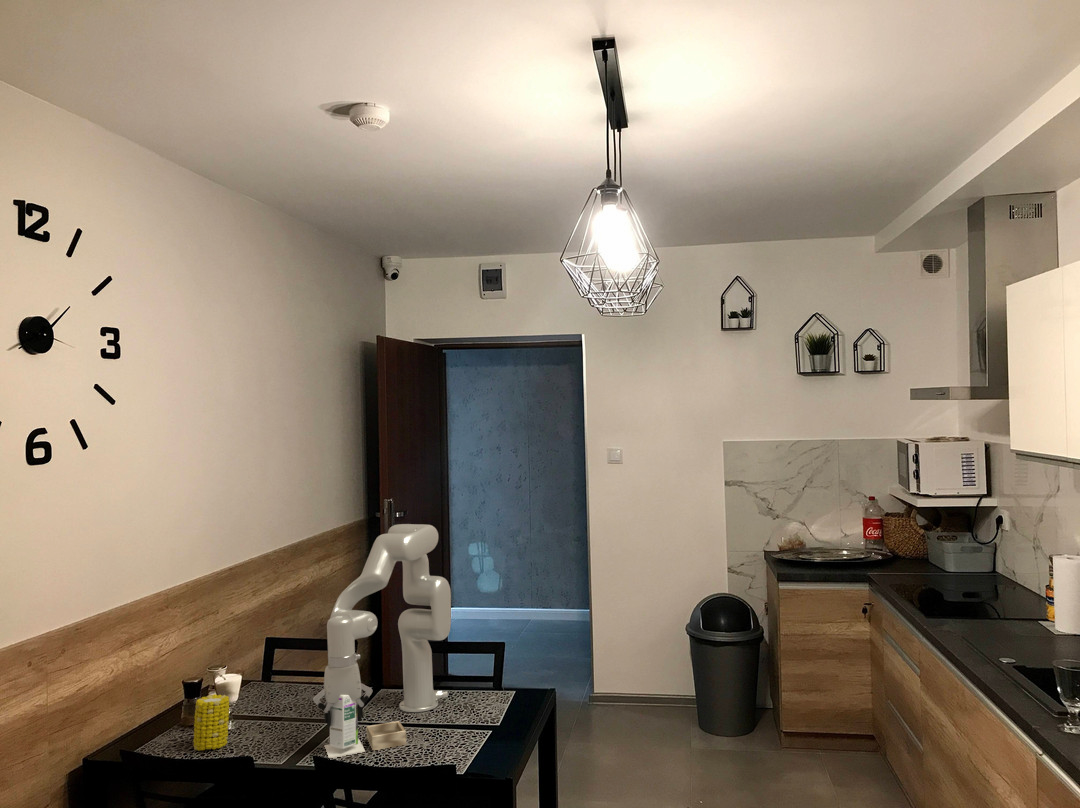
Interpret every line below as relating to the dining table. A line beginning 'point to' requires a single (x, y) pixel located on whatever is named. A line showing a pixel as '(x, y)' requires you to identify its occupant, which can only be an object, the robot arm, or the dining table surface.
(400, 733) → the wooden tray
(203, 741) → the food
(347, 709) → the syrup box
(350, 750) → the plate
